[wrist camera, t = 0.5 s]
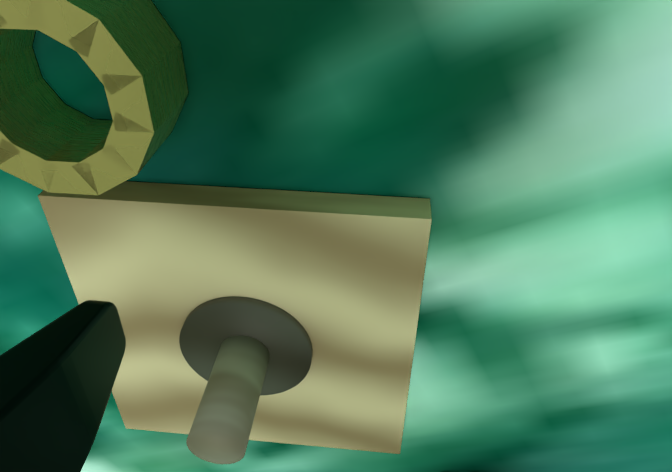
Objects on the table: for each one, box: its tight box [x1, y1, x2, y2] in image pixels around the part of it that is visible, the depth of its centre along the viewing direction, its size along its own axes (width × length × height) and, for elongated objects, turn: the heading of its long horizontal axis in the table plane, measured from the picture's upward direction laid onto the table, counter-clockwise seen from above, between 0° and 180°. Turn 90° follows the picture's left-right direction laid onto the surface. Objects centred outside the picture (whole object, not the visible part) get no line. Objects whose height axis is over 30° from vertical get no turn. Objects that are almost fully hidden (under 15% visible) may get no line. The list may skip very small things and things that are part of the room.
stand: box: [38, 181, 432, 464], centre depth 24 cm, size 16×16×7 cm
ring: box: [0, 0, 189, 195], centre depth 18 cm, size 7×7×4 cm
